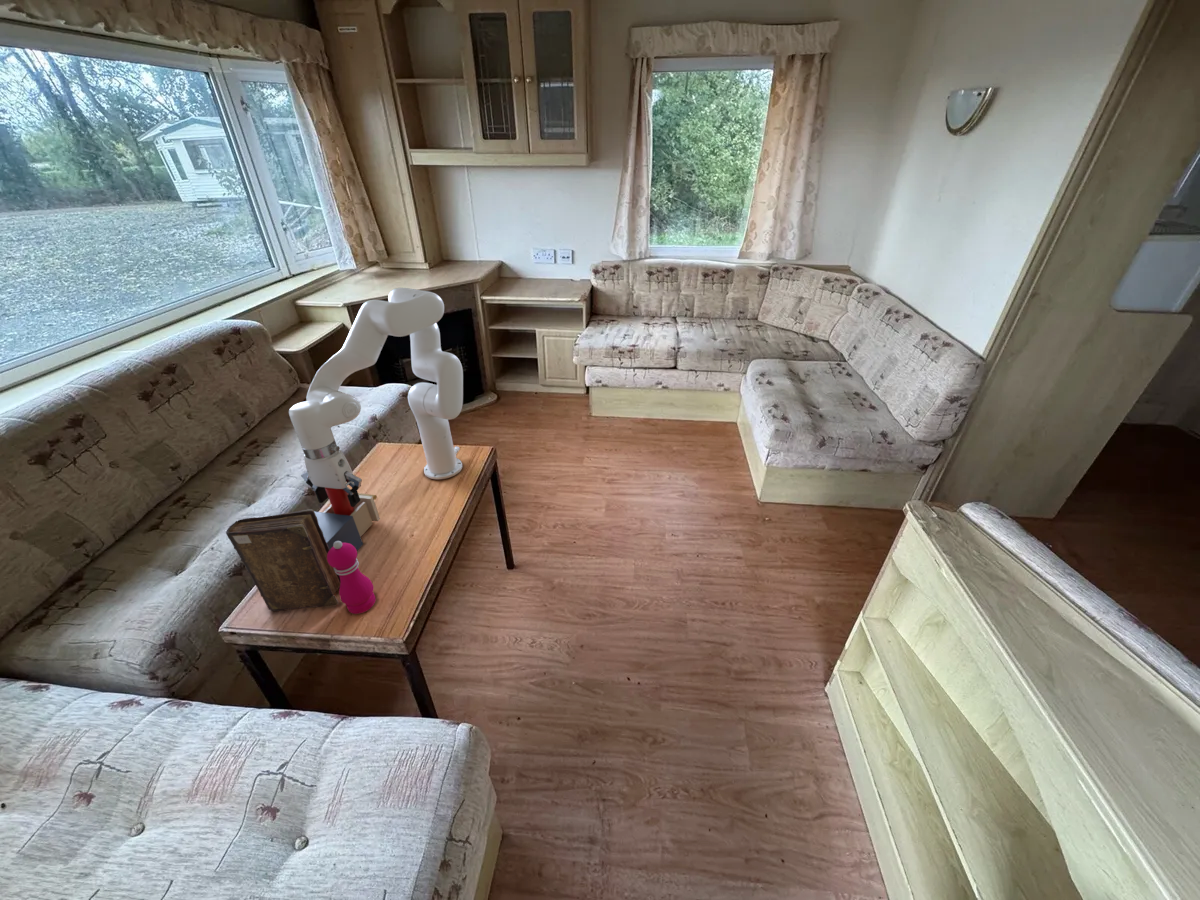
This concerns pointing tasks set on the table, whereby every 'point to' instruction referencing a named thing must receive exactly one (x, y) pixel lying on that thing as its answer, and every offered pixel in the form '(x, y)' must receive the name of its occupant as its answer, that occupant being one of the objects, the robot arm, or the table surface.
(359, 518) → the drawer
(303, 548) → the book
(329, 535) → the dark blue angular piece
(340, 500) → the ketchup bottle
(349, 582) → the pepper mill
